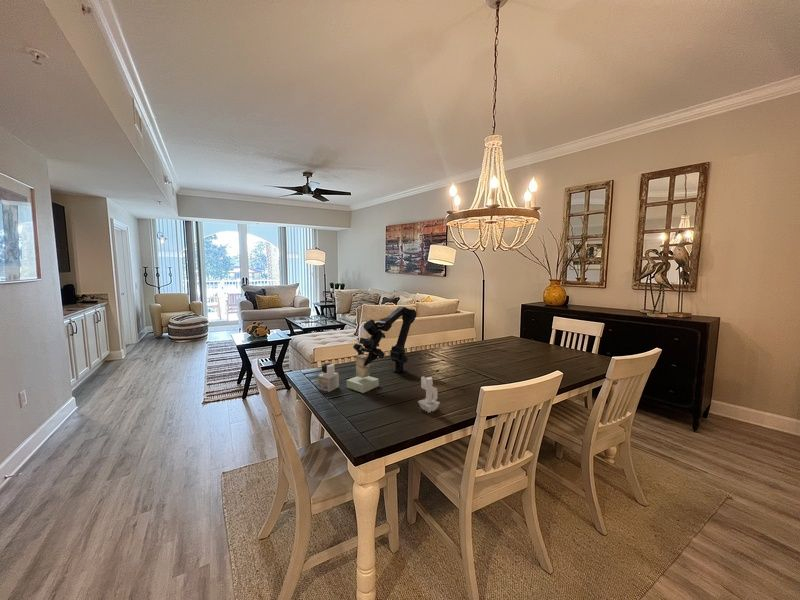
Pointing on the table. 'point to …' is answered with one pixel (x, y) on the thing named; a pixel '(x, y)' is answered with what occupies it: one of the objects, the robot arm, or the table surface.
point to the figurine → (429, 395)
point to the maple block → (362, 366)
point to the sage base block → (362, 383)
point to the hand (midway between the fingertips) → (360, 364)
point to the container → (328, 378)
